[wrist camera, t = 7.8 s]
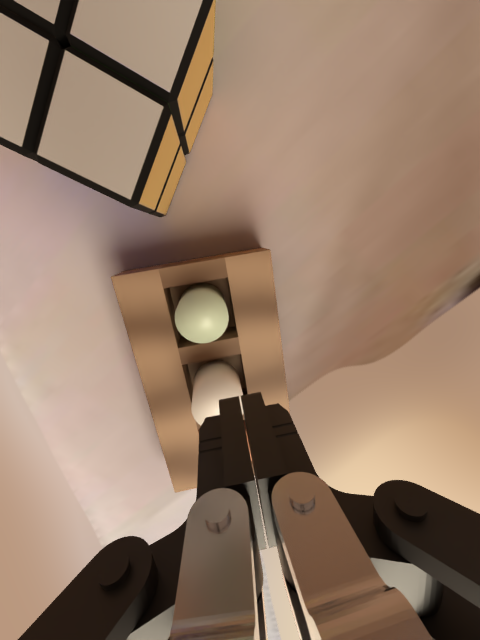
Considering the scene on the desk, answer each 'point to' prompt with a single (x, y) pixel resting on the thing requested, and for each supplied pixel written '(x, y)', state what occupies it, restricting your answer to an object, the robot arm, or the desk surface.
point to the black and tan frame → (107, 90)
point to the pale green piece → (201, 313)
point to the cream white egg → (214, 389)
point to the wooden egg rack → (187, 357)
